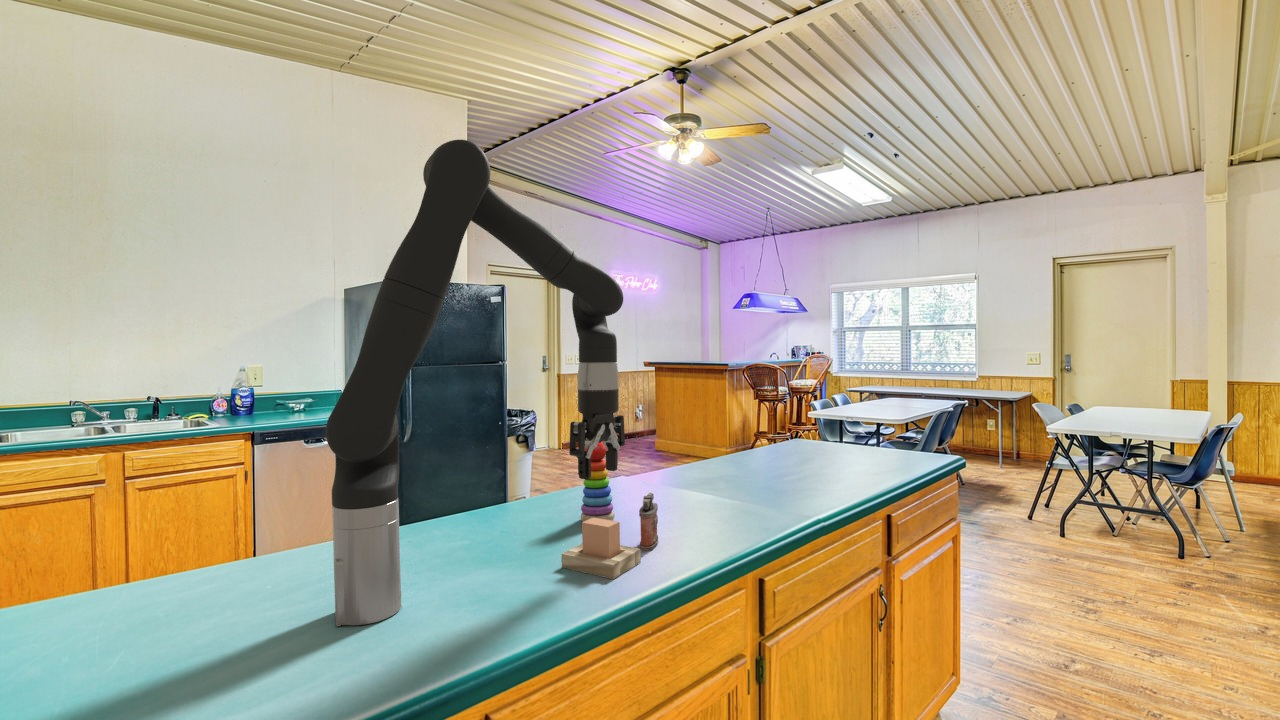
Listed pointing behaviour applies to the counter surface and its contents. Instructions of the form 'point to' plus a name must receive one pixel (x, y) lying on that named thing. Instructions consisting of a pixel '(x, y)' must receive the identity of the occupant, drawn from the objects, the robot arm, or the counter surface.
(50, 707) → the counter surface
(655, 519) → the lighter
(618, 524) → the key block
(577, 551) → the frame
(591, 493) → the stacking toy
